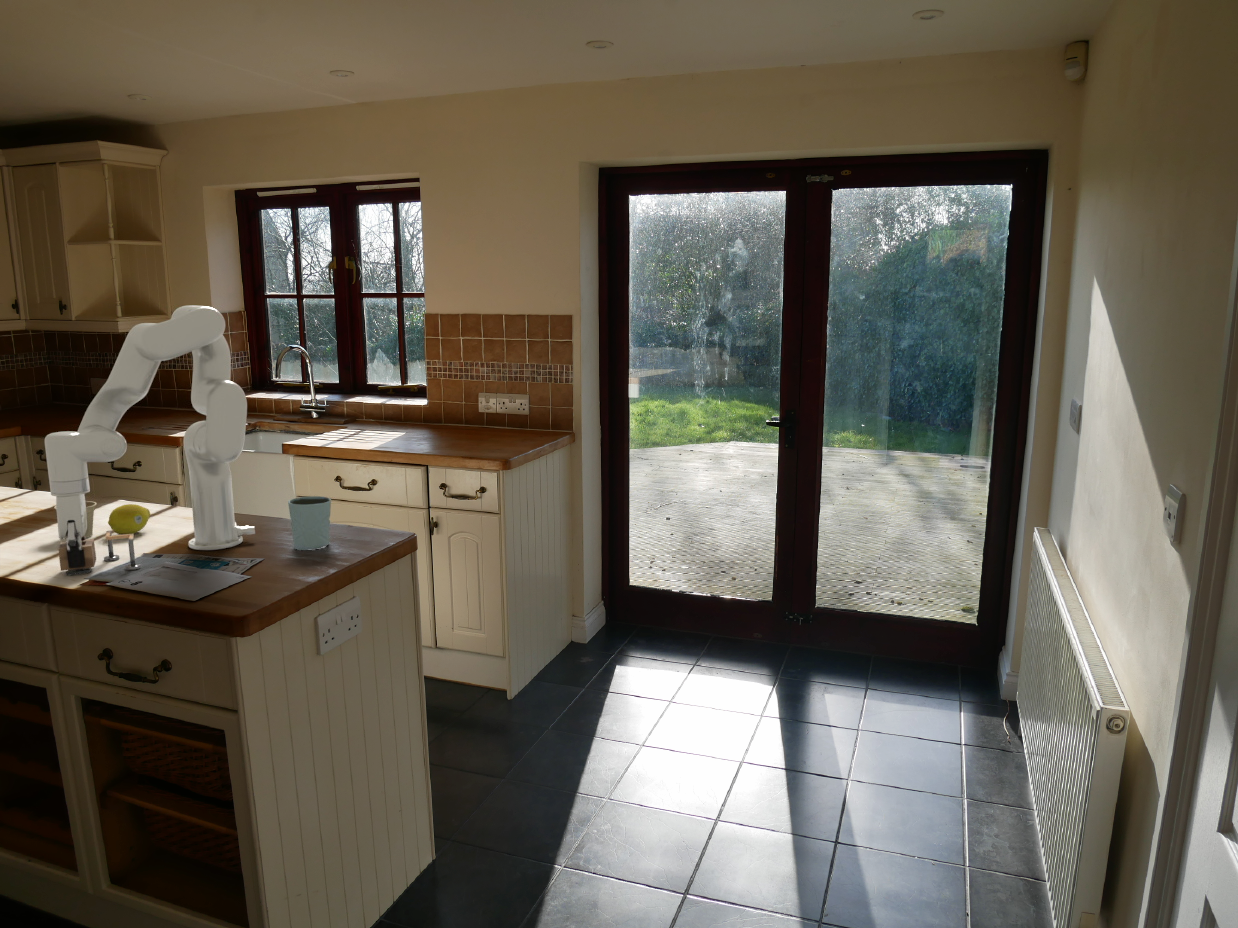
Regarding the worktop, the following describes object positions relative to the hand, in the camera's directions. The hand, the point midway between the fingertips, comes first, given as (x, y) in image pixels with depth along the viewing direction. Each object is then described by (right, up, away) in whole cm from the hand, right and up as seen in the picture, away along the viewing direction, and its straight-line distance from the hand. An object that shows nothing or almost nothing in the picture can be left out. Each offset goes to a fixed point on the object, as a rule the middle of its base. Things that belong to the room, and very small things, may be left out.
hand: (78, 562), depth 200 cm
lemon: (-6, +4, +32) cm, 33 cm away
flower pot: (-18, +3, +29) cm, 34 cm away
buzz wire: (+6, -1, +6) cm, 9 cm away
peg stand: (0, -2, 0) cm, 2 cm away
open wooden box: (0, -1, 0) cm, 1 cm away
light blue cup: (+46, +1, +22) cm, 51 cm away
